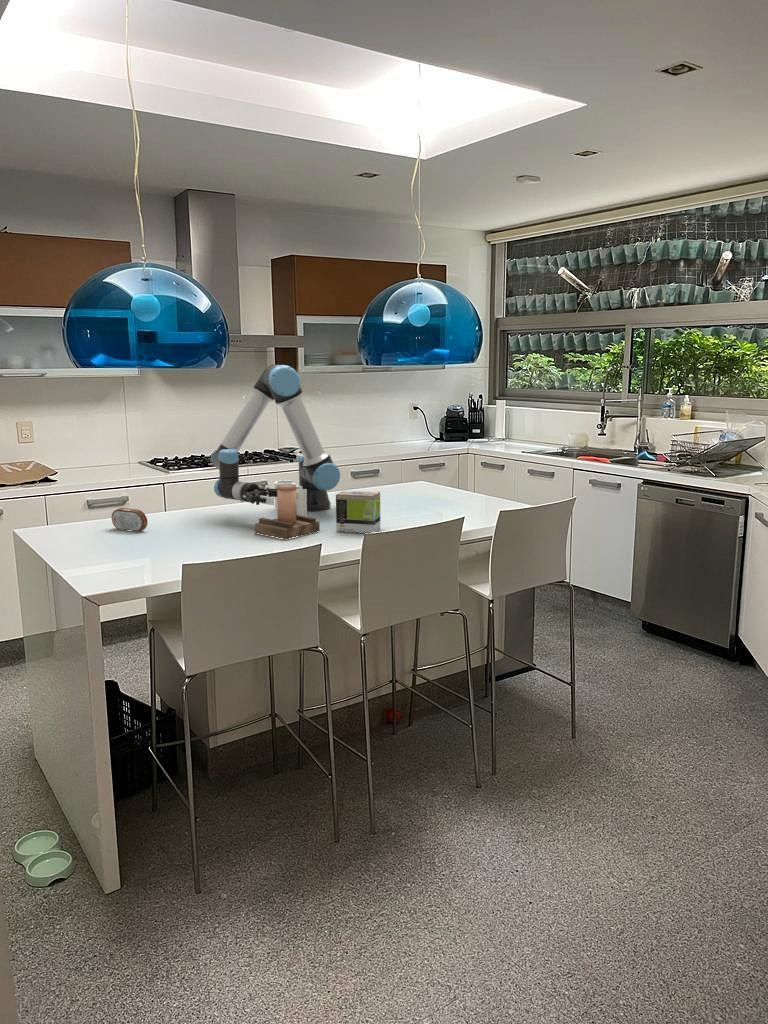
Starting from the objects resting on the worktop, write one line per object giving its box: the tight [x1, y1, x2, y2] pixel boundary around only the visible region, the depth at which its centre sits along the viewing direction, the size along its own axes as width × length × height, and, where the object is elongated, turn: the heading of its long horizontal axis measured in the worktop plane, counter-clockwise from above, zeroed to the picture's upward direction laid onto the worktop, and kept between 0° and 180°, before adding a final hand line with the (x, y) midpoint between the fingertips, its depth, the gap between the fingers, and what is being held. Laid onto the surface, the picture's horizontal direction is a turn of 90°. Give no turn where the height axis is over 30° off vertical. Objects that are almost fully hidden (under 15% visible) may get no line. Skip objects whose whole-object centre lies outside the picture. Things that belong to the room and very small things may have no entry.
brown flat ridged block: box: [254, 515, 321, 539], centre depth 300 cm, size 18×16×6 cm
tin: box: [111, 507, 148, 532], centre depth 302 cm, size 15×3×8 cm, turn 68°
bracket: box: [274, 479, 308, 517], centre depth 333 cm, size 25×10×12 cm, turn 20°
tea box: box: [335, 489, 381, 534], centre depth 304 cm, size 15×10×15 cm, turn 74°
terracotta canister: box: [277, 484, 297, 524], centre depth 298 cm, size 7×7×14 cm
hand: (286, 498), depth 298 cm, fingers open, 13 cm apart
